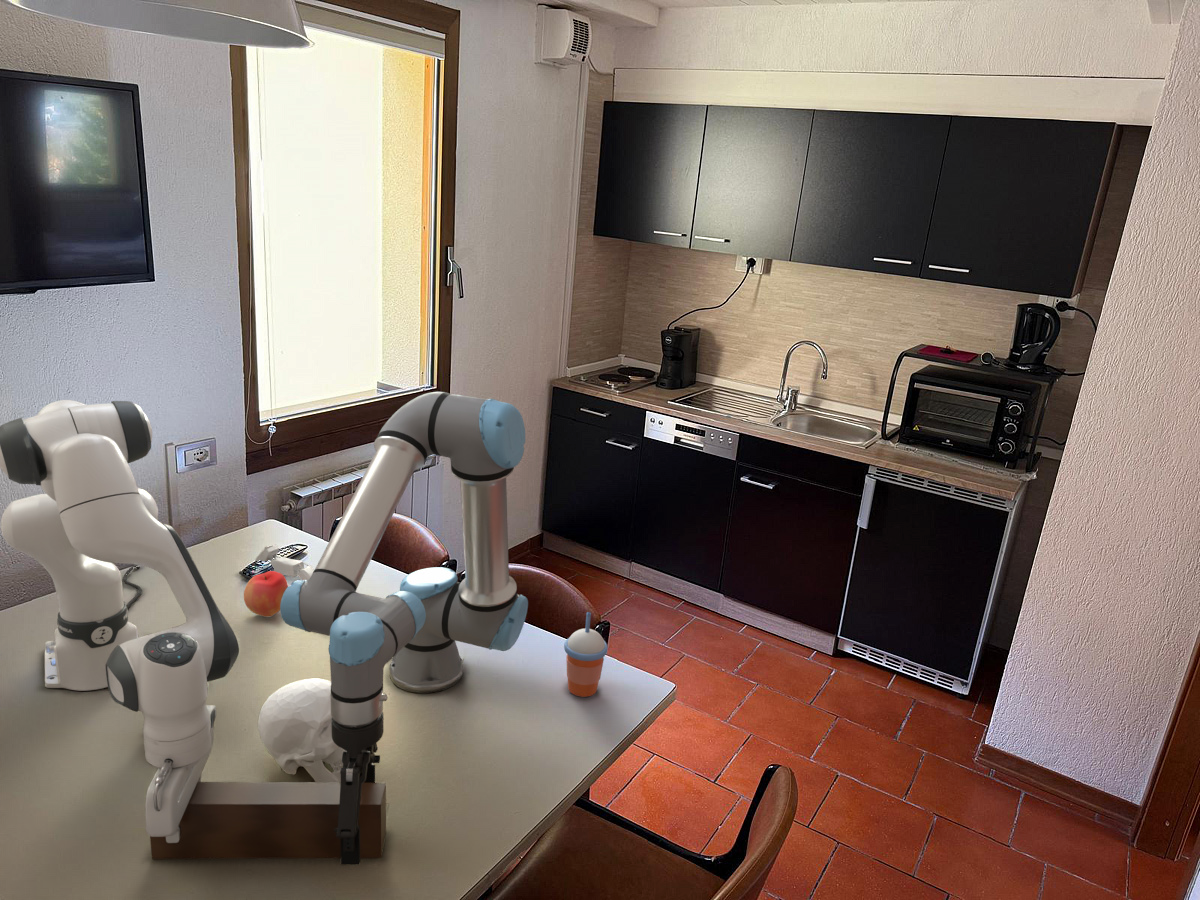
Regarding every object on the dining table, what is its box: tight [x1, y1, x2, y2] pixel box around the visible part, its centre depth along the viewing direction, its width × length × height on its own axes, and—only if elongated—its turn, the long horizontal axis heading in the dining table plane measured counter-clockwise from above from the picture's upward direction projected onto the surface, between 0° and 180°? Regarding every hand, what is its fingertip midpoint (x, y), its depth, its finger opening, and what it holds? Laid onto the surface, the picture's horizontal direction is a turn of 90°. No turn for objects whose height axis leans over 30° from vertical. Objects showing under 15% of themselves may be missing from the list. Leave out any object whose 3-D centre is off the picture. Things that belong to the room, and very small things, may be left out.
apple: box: [243, 570, 289, 618], centre depth 199 cm, size 10×10×10 cm
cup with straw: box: [563, 611, 609, 698], centre depth 179 cm, size 9×9×18 cm
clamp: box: [254, 544, 315, 581], centre depth 219 cm, size 20×4×7 cm, turn 62°
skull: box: [257, 677, 375, 783], centre depth 150 cm, size 13×22×16 cm, turn 73°
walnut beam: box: [149, 781, 387, 860], centre depth 132 cm, size 34×5×10 cm, turn 95°
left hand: (184, 816), depth 130 cm, fingers open, 8 cm apart
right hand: (358, 830), depth 134 cm, fingers open, 13 cm apart
